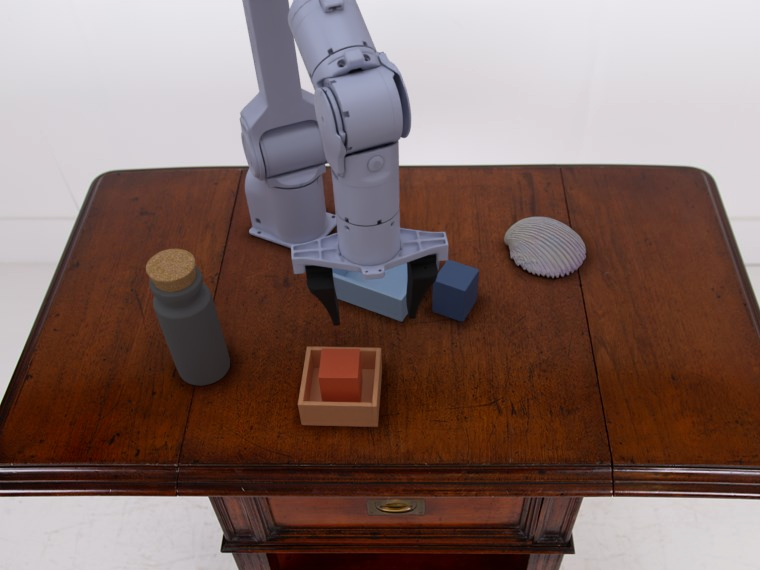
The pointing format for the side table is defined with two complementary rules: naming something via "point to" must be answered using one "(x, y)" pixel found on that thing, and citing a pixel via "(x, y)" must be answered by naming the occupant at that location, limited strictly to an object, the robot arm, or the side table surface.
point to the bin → (375, 291)
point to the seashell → (545, 246)
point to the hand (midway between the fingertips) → (373, 315)
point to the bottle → (187, 317)
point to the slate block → (455, 290)
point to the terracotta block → (340, 375)
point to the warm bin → (341, 412)
